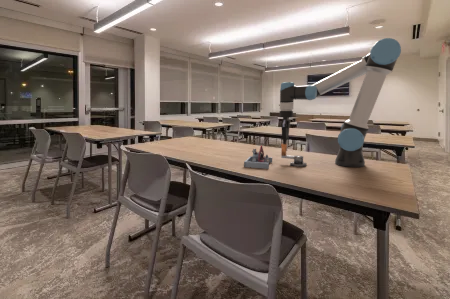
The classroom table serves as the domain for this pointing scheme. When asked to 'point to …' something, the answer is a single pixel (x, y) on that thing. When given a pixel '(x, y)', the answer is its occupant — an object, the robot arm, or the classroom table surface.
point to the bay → (256, 163)
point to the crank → (296, 158)
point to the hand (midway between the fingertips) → (284, 150)
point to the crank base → (298, 164)
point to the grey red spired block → (260, 156)
